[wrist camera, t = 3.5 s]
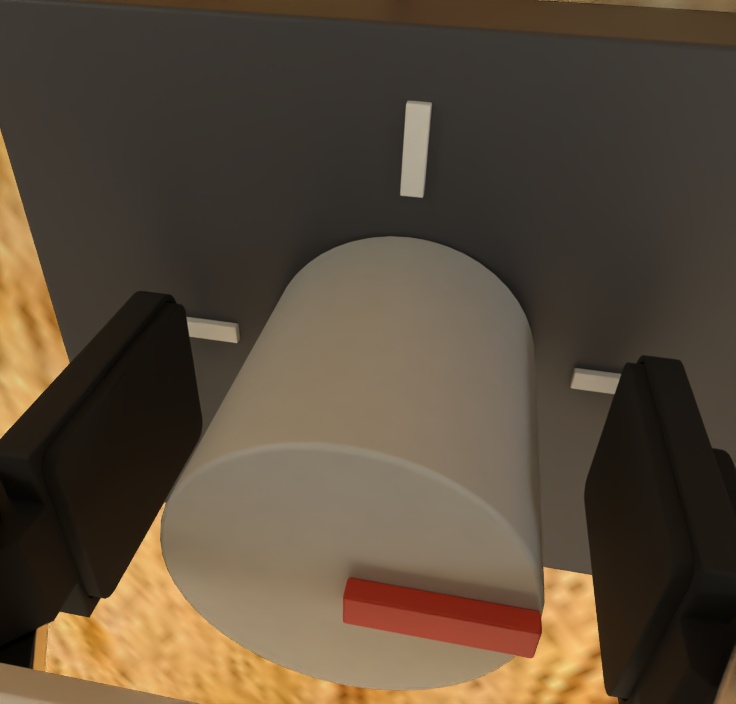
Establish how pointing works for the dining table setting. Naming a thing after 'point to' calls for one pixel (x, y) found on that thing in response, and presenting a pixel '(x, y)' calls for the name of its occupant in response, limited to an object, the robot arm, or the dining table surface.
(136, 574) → the dining table surface
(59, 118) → the fryer panel
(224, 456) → the timer knob
